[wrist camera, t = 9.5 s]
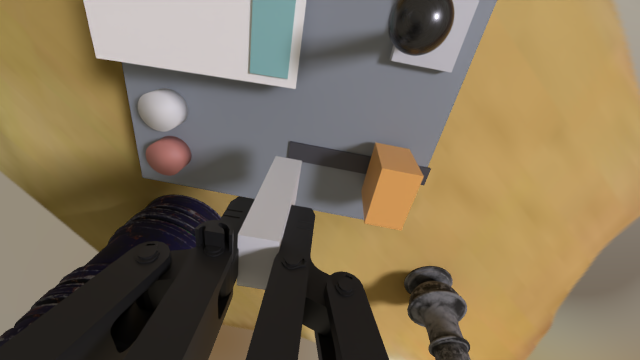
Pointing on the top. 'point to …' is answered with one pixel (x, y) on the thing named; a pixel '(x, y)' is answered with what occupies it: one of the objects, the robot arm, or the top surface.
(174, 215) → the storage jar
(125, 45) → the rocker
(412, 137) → the panel
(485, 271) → the top surface
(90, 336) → the robot arm
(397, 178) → the slider
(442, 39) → the toggle
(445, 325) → the chess piece
